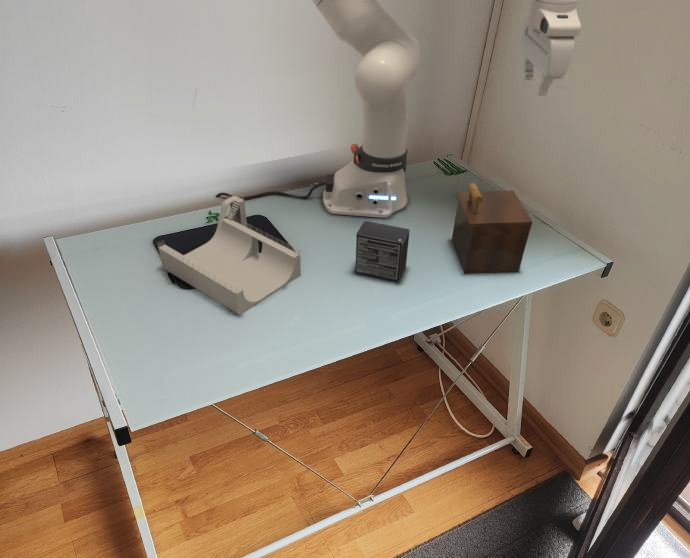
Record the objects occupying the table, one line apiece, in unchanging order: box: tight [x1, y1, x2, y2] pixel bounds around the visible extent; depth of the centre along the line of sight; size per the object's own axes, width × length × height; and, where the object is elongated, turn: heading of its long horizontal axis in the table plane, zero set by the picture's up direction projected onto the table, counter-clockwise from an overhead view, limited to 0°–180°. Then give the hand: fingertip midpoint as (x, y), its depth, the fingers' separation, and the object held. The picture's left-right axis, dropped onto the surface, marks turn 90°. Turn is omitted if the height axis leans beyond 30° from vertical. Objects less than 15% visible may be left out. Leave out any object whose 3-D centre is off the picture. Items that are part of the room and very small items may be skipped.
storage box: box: [450, 201, 532, 275], centre depth 132 cm, size 13×14×12 cm
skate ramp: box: [157, 190, 302, 316], centre depth 128 cm, size 25×23×10 cm
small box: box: [354, 220, 411, 284], centre depth 128 cm, size 11×6×10 cm, turn 71°
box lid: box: [455, 182, 533, 227], centre depth 126 cm, size 13×14×5 cm
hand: (534, 86), depth 126 cm, fingers open, 8 cm apart
